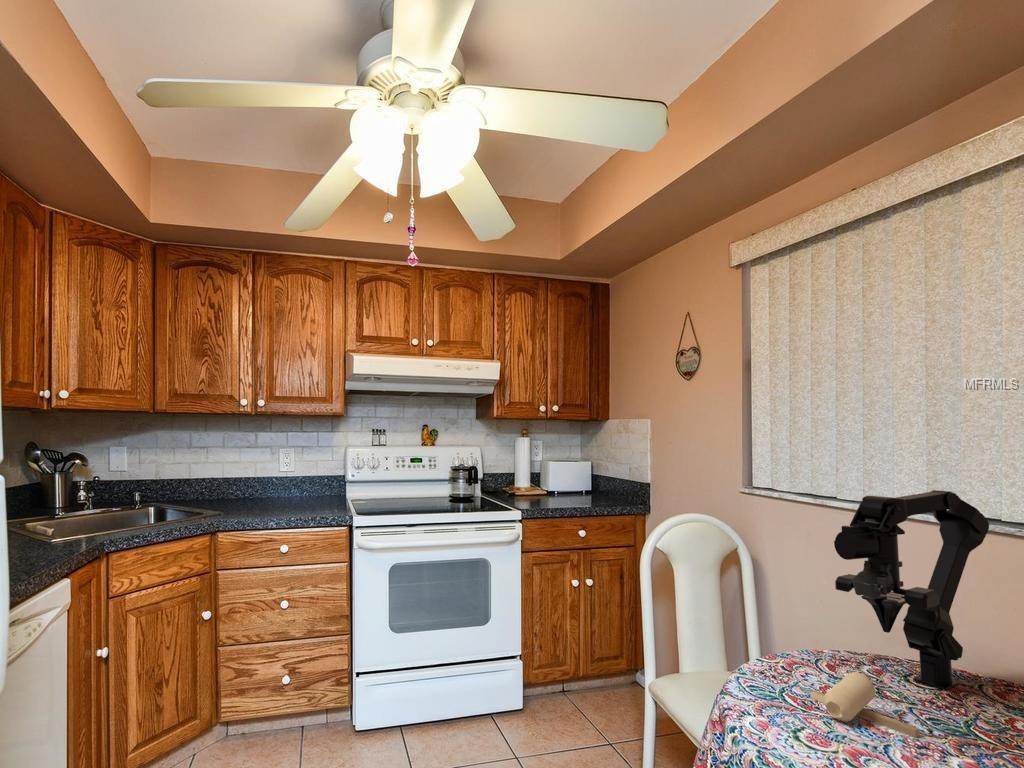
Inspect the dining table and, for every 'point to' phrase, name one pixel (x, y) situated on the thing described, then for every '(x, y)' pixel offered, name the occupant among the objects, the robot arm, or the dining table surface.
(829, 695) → the candle
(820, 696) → the oak strip
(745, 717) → the dining table surface
